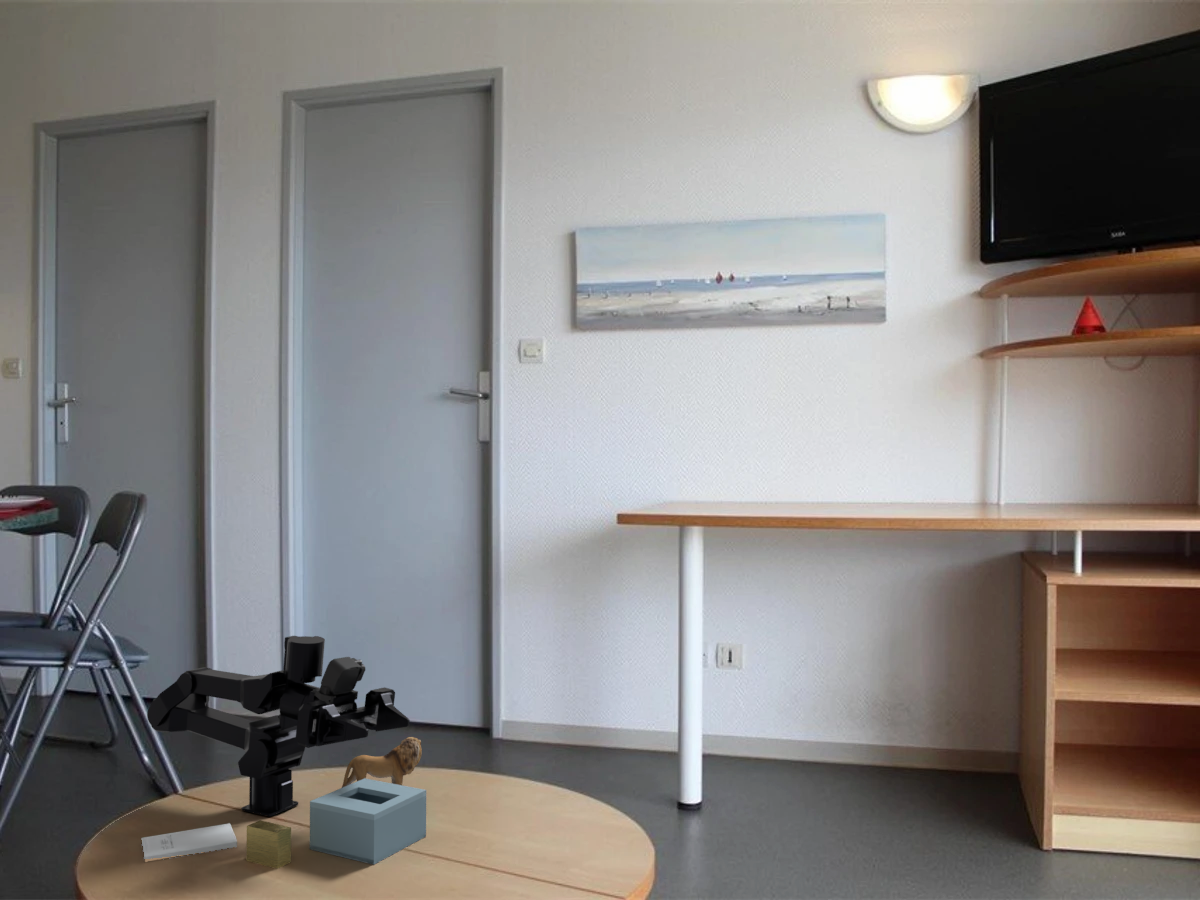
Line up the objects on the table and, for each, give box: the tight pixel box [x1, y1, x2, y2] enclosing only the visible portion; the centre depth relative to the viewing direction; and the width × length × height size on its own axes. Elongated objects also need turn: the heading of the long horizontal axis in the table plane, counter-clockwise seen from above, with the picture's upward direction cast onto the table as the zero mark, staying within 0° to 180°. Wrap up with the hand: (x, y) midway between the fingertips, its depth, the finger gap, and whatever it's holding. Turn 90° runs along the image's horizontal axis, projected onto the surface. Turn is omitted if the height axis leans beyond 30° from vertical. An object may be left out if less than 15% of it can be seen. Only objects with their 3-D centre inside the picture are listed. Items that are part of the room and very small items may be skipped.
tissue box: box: [309, 777, 427, 865], centre depth 147 cm, size 12×12×7 cm
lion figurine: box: [341, 736, 423, 788], centre depth 169 cm, size 15×5×9 cm, turn 114°
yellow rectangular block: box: [245, 820, 292, 869], centre depth 140 cm, size 6×2×5 cm, turn 63°
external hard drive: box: [140, 822, 238, 860], centre depth 146 cm, size 2×8×12 cm
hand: (388, 728), depth 149 cm, fingers open, 9 cm apart
